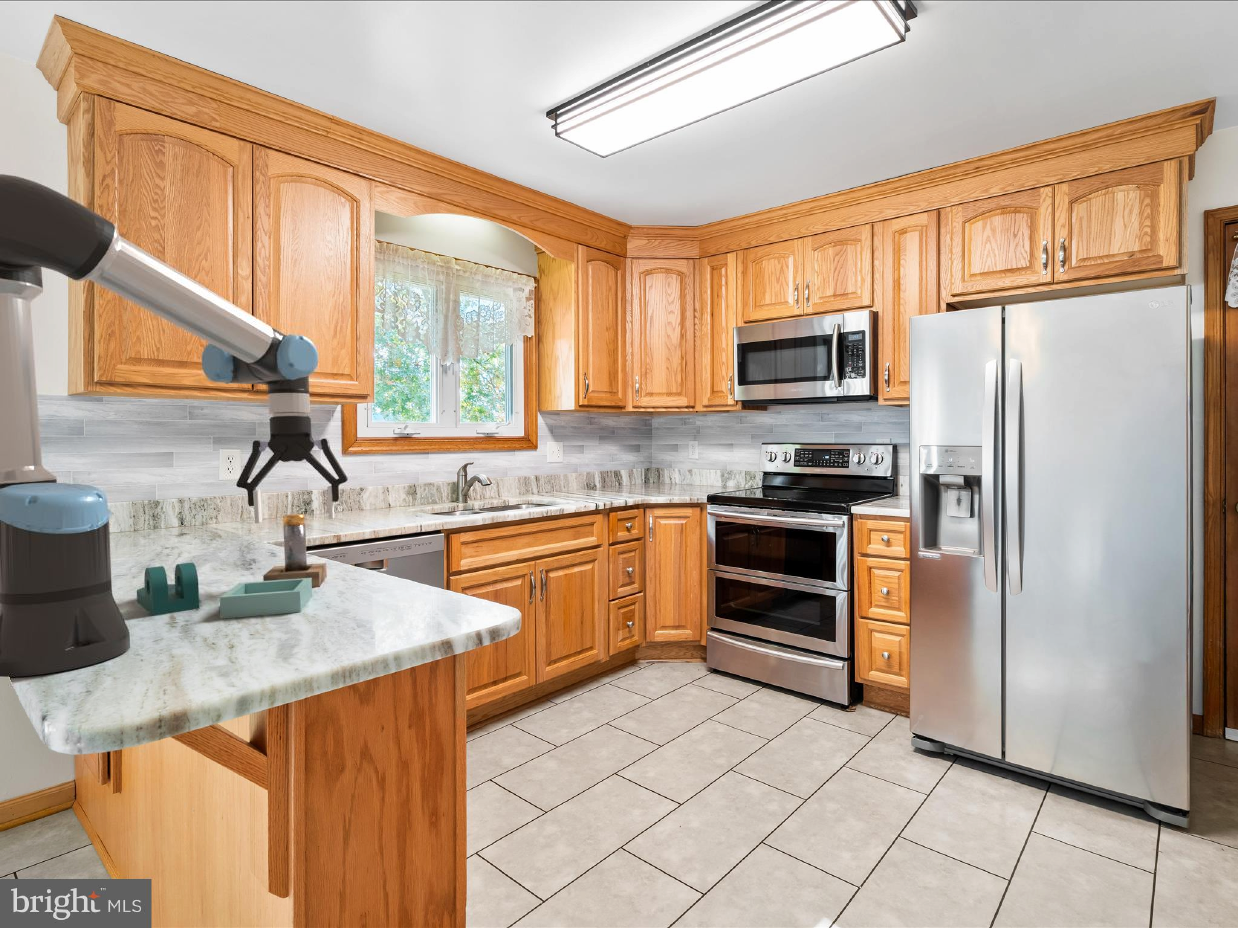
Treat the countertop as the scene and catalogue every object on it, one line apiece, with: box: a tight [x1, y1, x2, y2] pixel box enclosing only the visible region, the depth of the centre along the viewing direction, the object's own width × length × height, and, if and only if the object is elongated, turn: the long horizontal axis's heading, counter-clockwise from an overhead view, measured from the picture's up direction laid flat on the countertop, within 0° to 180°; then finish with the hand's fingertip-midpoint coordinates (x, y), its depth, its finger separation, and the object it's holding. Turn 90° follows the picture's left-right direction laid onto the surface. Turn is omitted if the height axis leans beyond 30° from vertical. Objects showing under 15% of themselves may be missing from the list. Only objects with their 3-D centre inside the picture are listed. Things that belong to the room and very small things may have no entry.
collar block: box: [262, 562, 328, 588], centre depth 137 cm, size 10×10×3 cm
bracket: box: [136, 562, 200, 617], centre depth 122 cm, size 18×7×8 cm, turn 44°
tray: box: [219, 578, 313, 619], centre depth 118 cm, size 12×12×4 cm
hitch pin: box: [282, 513, 308, 572], centre depth 137 cm, size 4×4×14 cm
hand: (295, 520), depth 137 cm, fingers open, 13 cm apart
